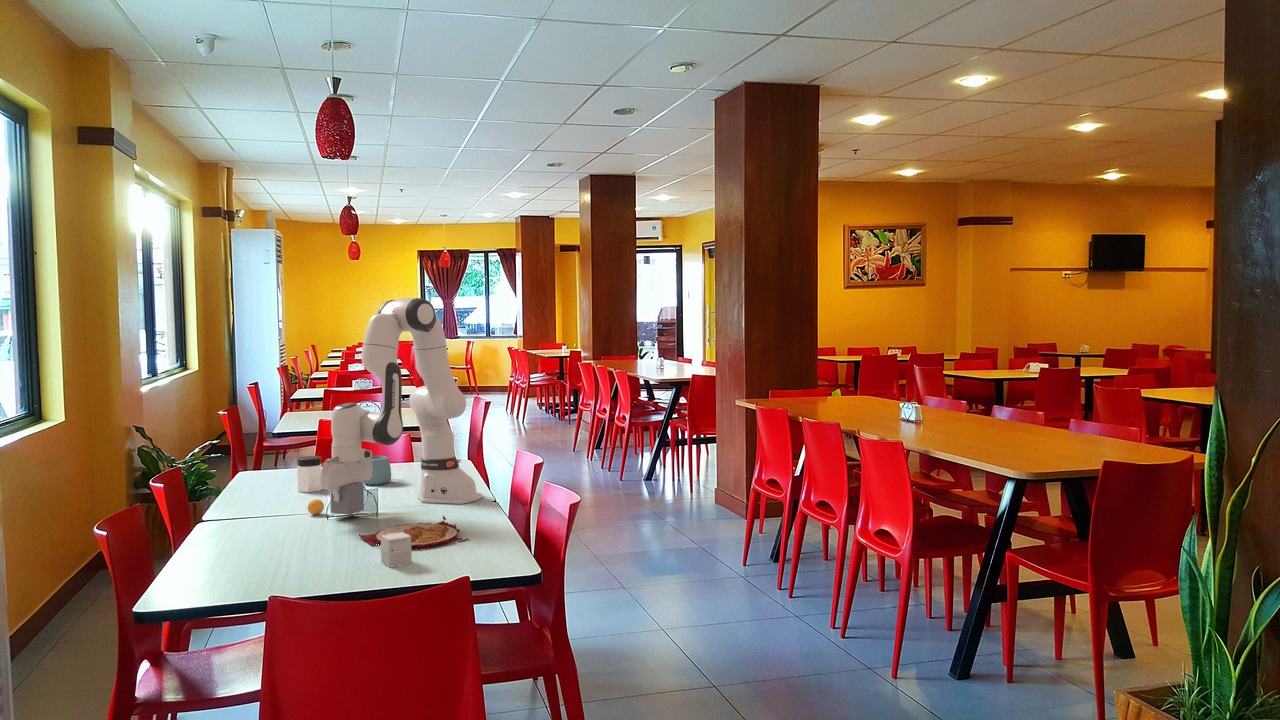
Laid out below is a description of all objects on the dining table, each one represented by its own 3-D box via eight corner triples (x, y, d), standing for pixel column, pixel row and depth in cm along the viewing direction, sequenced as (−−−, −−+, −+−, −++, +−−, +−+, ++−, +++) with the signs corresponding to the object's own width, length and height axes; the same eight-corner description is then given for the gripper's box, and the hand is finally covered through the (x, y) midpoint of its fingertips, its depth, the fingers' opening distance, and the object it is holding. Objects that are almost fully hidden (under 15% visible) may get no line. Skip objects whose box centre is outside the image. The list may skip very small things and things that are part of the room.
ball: (327, 513, 286) (327, 498, 286) (316, 516, 281) (316, 501, 281) (315, 512, 288) (315, 497, 288) (304, 515, 283) (303, 500, 283)
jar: (302, 493, 318) (301, 460, 317) (293, 490, 323) (292, 457, 323) (326, 490, 324) (325, 457, 323) (317, 486, 330) (316, 454, 329)
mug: (372, 478, 346) (371, 453, 345) (399, 478, 345) (399, 453, 344) (356, 486, 331) (355, 459, 330) (384, 486, 330) (384, 459, 329)
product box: (389, 568, 225) (388, 539, 224) (380, 562, 230) (380, 534, 229) (412, 564, 228) (411, 536, 228) (403, 558, 233) (402, 531, 233)
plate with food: (358, 541, 255) (357, 529, 255) (444, 525, 271) (443, 513, 270) (389, 561, 235) (388, 548, 235) (480, 543, 251) (479, 530, 250)
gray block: (363, 510, 281) (363, 482, 281) (348, 514, 275) (348, 486, 274) (346, 508, 284) (345, 481, 283) (330, 512, 277) (330, 484, 277)
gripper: (331, 460, 268) (332, 505, 268) (375, 451, 287) (376, 493, 287) (314, 459, 270) (315, 504, 271) (359, 449, 289) (360, 491, 290)
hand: (347, 498), depth 279 cm, fingers closed on gray block, 7 cm apart
